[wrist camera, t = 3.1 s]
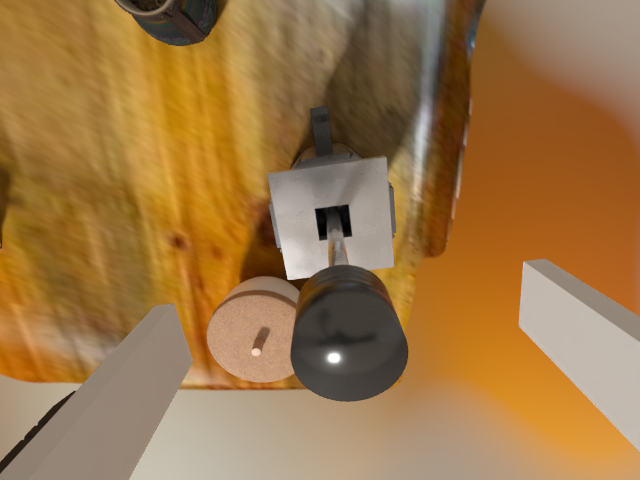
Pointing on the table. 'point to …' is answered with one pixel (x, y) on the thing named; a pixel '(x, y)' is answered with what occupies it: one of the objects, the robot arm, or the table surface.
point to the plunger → (345, 324)
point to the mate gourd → (174, 19)
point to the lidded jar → (255, 329)
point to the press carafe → (332, 204)
